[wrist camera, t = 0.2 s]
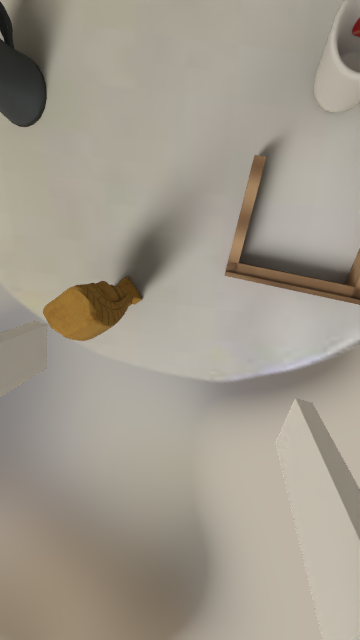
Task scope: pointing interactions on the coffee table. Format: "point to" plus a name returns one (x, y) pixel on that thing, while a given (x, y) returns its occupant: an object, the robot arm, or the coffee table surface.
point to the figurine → (90, 308)
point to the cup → (340, 62)
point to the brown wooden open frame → (353, 291)
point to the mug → (19, 81)
